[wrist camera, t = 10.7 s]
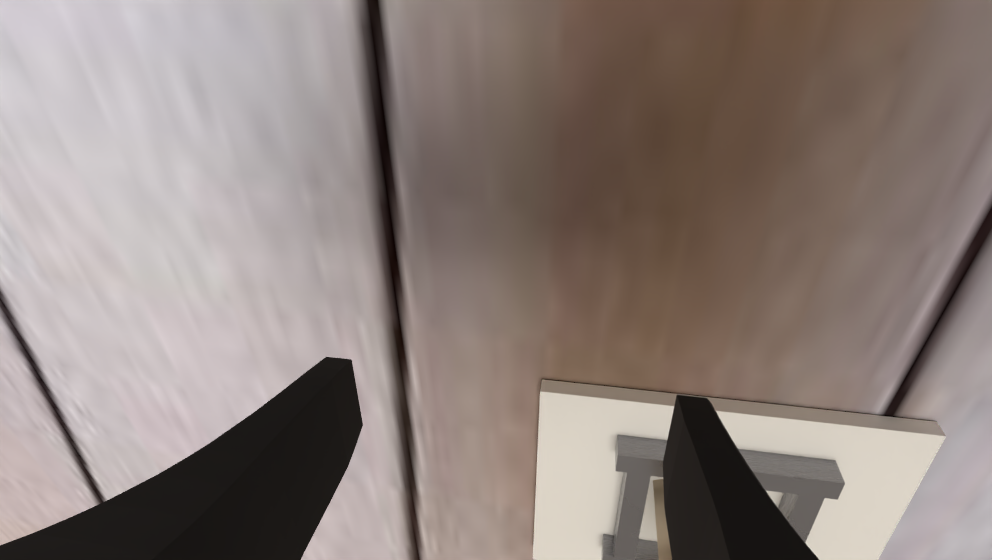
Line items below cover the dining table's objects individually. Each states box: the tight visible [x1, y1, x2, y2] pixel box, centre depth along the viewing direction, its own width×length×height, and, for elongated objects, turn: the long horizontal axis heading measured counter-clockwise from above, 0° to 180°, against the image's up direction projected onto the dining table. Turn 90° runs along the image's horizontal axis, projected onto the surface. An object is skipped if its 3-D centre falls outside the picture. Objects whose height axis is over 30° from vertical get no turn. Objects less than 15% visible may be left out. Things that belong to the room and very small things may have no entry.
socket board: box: [533, 379, 946, 560], centre depth 27 cm, size 16×12×2 cm
